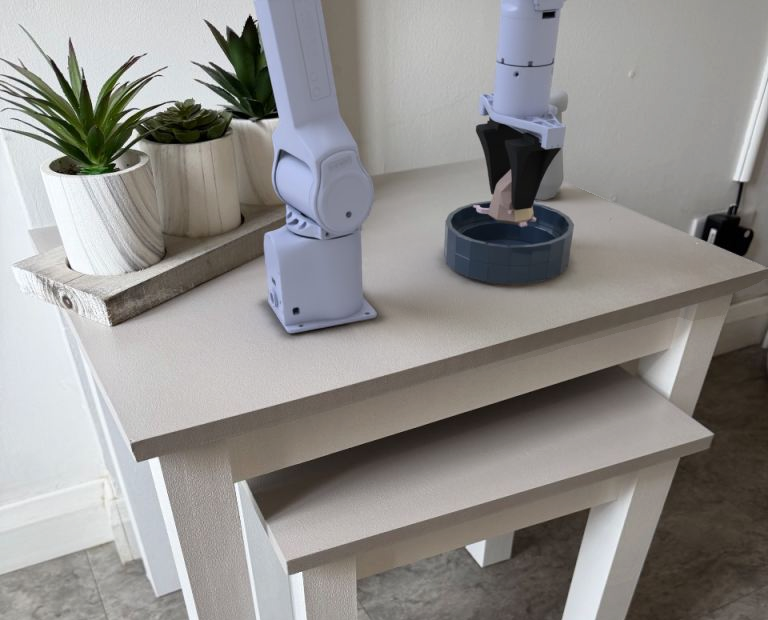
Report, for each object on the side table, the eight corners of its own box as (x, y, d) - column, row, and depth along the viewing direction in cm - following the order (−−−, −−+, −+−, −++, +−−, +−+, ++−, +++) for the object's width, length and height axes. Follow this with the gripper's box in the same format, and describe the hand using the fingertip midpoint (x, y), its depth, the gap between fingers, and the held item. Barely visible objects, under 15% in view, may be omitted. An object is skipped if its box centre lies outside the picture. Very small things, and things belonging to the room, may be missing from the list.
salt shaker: (560, 203, 106) (574, 96, 97) (517, 200, 106) (528, 94, 98) (561, 189, 110) (575, 85, 102) (520, 186, 111) (530, 83, 102)
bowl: (478, 296, 84) (481, 255, 81) (424, 248, 94) (425, 210, 91) (592, 275, 88) (599, 235, 85) (528, 230, 98) (533, 194, 95)
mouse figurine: (486, 201, 92) (491, 140, 88) (544, 217, 88) (552, 154, 84) (459, 212, 89) (463, 150, 85) (517, 230, 85) (524, 165, 81)
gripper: (600, 72, 74) (578, 217, 83) (524, 44, 84) (511, 176, 93) (535, 79, 72) (518, 227, 81) (465, 49, 82) (457, 183, 91)
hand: (511, 200), depth 87 cm, fingers closed on mouse figurine, 4 cm apart
